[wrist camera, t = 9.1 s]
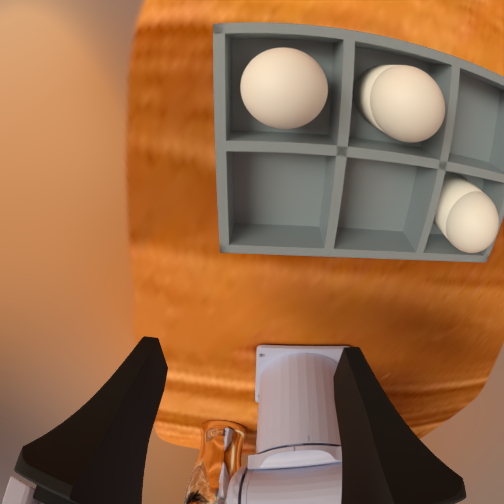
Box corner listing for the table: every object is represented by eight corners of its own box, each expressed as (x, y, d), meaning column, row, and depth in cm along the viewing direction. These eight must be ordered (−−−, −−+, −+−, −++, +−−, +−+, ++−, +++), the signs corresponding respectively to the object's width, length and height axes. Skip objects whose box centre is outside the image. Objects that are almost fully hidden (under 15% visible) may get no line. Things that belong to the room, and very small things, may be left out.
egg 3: (462, 226, 17) (496, 266, 13) (420, 222, 17) (451, 265, 13) (476, 177, 15) (517, 209, 11) (432, 169, 15) (472, 202, 12)
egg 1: (316, 120, 15) (332, 139, 11) (246, 118, 15) (236, 136, 11) (318, 54, 13) (336, 47, 9) (245, 51, 13) (235, 43, 9)
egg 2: (411, 133, 14) (452, 158, 11) (351, 124, 15) (379, 145, 11) (418, 72, 12) (463, 78, 9) (355, 59, 13) (386, 56, 9)
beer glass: (245, 418, 33) (235, 533, 21) (253, 438, 37) (246, 536, 24) (190, 416, 34) (171, 524, 22) (205, 437, 38) (191, 530, 25)
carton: (466, 238, 18) (486, 262, 16) (227, 225, 19) (220, 252, 17) (500, 82, 12) (530, 90, 9) (223, 31, 13) (213, 23, 10)
